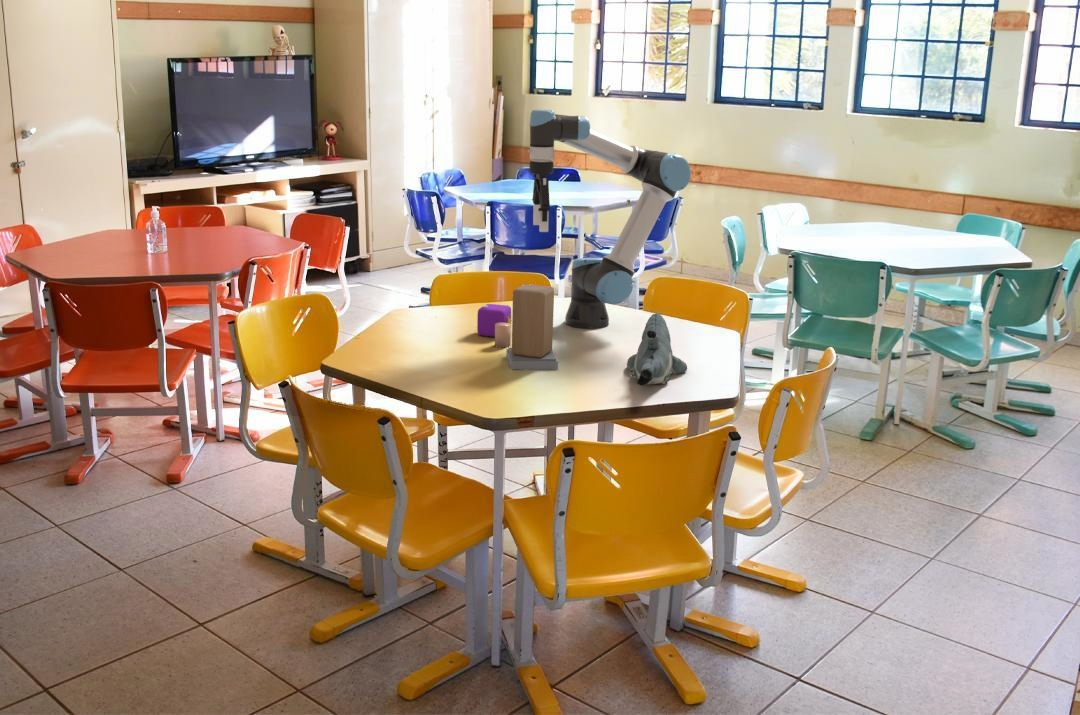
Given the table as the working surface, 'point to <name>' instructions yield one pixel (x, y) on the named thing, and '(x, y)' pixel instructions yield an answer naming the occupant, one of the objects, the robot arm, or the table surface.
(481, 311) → the toy camera
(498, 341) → the peach rounded capsule part
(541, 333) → the wooden block
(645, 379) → the shark plush
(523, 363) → the stand
